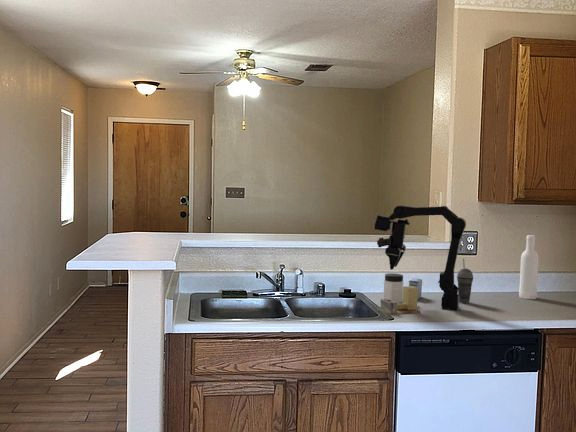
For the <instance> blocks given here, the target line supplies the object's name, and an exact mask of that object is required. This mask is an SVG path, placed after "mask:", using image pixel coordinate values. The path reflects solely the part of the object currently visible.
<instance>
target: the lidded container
mask: <svg viewBox="0 0 576 432" xmlns="http://www.w3.org/2000/svg"><path fill="white" fill-rule="evenodd" d="M383 282H384V283H383V300H384V299H390V300H391V302H397V303H398V304H400V303H403V287H404V275H403V274H401V273H391V272H390V273H385V274H384V281H383Z"/></svg>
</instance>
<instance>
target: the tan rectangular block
mask: <svg viewBox="0 0 576 432" xmlns="http://www.w3.org/2000/svg"><path fill="white" fill-rule="evenodd" d="M417 295H418V288H416V287H413V286H409V285H405V286H404V285H403V301H402V302H401V303H398V304H397V310H398V309H407V310H414V309H417V310H418V300H417Z"/></svg>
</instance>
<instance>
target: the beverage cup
mask: <svg viewBox="0 0 576 432" xmlns="http://www.w3.org/2000/svg"><path fill="white" fill-rule="evenodd" d="M462 264H463V265H462V266H463V268H462V269H460V270H459V271H458V272H457V276H456V279H457V280H456V281H457V287H458V288H459V290H458V293H457V294H459V303H460V304H470V299H471V292H472V286H473V281H474V275H473V272H472V270H470V269H469V268H465V267H466V266H465V264H466V263H465V258H463V259H462Z"/></svg>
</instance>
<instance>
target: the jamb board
mask: <svg viewBox="0 0 576 432" xmlns="http://www.w3.org/2000/svg"><path fill="white" fill-rule="evenodd" d="M397 304H399V303H397V302H391V300H390V299H384V298H381V299H380V306H379V307H380V309H379V311H380V312H383V313H385V314H387V315H389V316H390V315H406V314H420V313H421V310H419V309H418V308H417V309H414V310H407V309H398V310H397Z"/></svg>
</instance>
